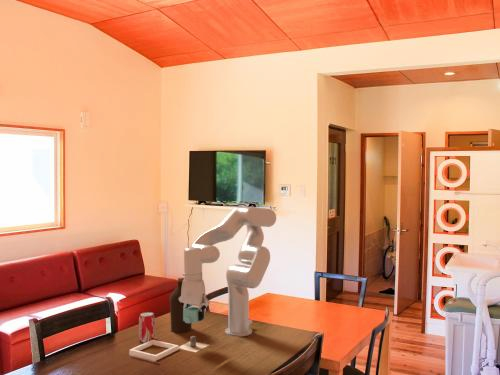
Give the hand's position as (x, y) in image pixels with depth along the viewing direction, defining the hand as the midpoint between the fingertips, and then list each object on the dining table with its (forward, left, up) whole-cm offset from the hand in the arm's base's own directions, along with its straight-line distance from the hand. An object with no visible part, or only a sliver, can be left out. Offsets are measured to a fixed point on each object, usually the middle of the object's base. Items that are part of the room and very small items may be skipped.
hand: (194, 318), depth 203 cm
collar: (0, 0, -1) cm, 1 cm away
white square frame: (+14, -10, -13) cm, 21 cm away
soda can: (+4, -23, -13) cm, 27 cm away
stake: (+1, 0, -13) cm, 13 cm away
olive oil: (-14, -18, -13) cm, 26 cm away
